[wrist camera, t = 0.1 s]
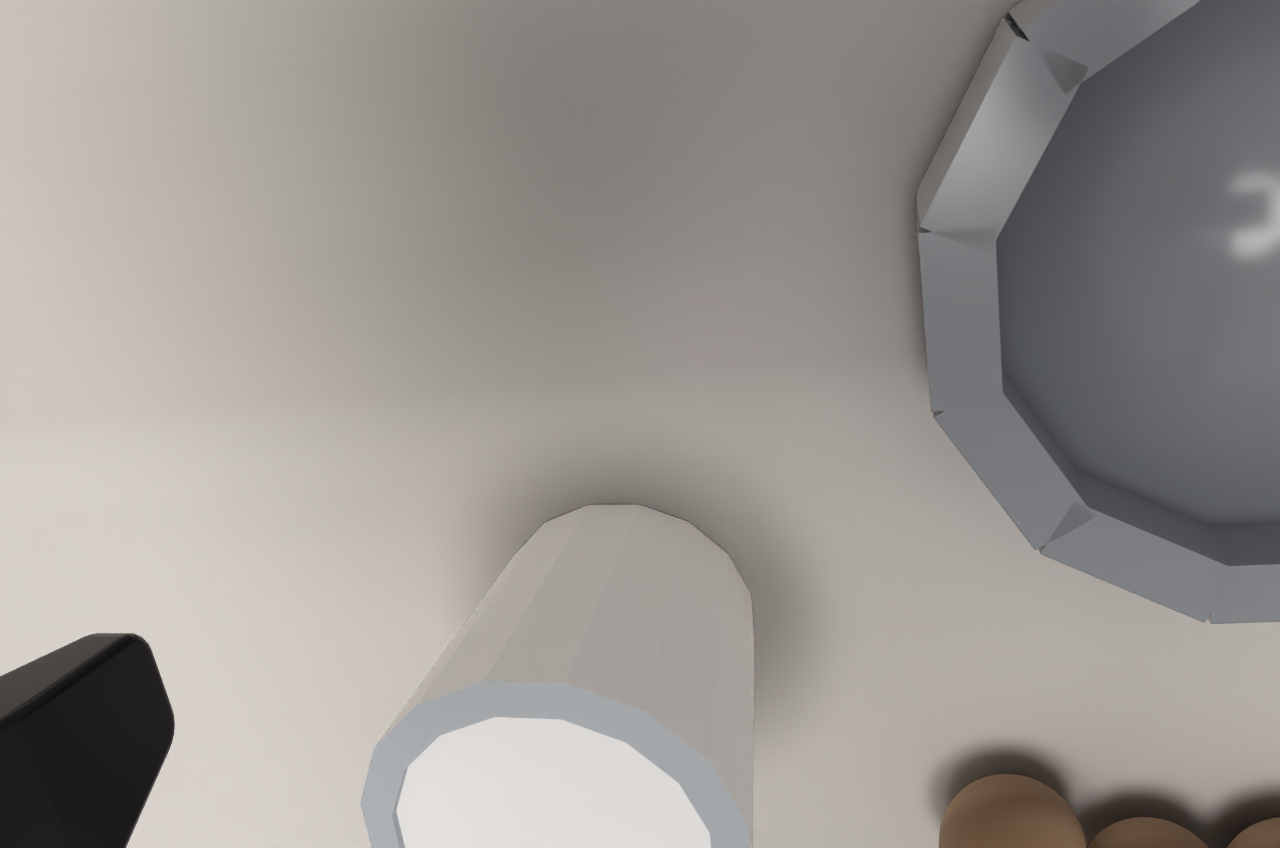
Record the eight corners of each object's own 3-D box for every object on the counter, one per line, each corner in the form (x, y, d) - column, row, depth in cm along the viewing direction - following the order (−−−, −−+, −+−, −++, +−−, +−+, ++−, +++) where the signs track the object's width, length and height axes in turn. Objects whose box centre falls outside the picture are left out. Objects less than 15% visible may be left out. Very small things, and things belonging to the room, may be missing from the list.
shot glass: (736, 449, 24) (688, 656, 18) (817, 718, 27) (797, 980, 21) (434, 507, 26) (296, 712, 20) (535, 753, 29) (440, 1003, 23)
